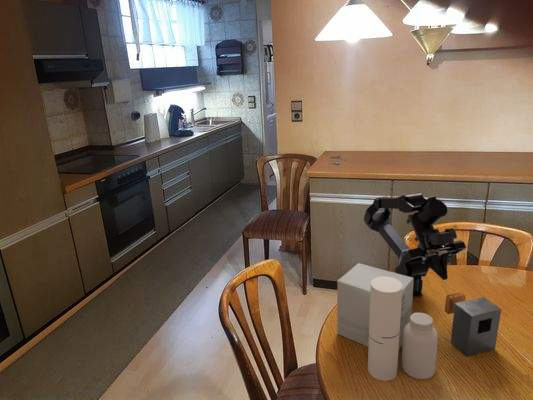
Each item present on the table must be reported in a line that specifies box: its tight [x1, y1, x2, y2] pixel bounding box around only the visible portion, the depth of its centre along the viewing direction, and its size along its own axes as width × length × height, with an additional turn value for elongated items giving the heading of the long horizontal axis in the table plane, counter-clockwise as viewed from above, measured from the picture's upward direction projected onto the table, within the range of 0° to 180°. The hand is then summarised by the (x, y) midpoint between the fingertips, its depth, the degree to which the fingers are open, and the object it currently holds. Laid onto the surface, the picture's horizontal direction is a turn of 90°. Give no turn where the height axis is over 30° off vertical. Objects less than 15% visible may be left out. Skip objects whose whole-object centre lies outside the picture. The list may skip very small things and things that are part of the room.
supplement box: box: [336, 262, 414, 351], centre depth 111 cm, size 17×13×18 cm
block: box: [450, 296, 502, 358], centre depth 105 cm, size 6×9×12 cm, turn 105°
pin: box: [444, 291, 467, 315], centre depth 109 cm, size 8×5×5 cm, turn 15°
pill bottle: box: [401, 312, 439, 380], centre depth 98 cm, size 8×8×15 cm
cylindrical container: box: [367, 277, 402, 382], centre depth 96 cm, size 7×7×25 cm
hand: (445, 279), depth 114 cm, fingers closed
